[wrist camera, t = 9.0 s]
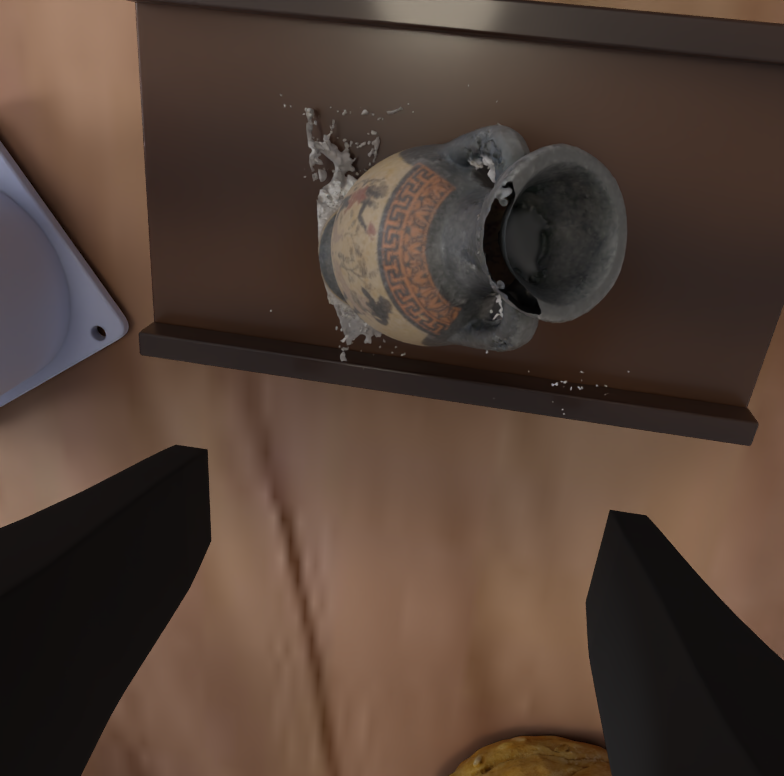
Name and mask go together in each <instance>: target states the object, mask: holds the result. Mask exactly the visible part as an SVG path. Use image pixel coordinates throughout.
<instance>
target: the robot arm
mask: <svg viewBox="0 0 784 776" xmlns="http://www.w3.org/2000/svg"><path fill="white" fill-rule="evenodd" d="M97 326H100V327H102V328H103V329H104V331H105V333H106V337H105V336H102V335H101V334H100V333H99V332H98V329H97ZM128 329H129V325H128V321H127V319H126V317H125V315H124V314H123V313H122V311H121V310H120V308H119V307H118V306H117V304H116V303H115V301H114V300H113V299H112V297H111V296H110V294H109V293H108V292H107V290H106V289H105V287H104V286H103V285H102V283H101V282H100V280H99V279H98V277H97V276H96V275H95V273H94V272H93V270H92V269H91V268H90V266H89V265H88V263H87V262H86V261H85V259H84V258H83V256H82V255H81V254H80V252H79V251H78V249H77V248H76V247H75V245H74V244H73V242H72V241H71V239H70V238H69V237H68V235H67V234H66V232H65V231H64V230H63V228H62V227H61V225H60V224H59V223H58V221H57V220H56V218H55V217H54V216H53V214H52V213H51V211H50V210H49V209H48V207H47V206H46V204H45V203H44V201H43V200H42V199H41V197H40V196H39V194H38V193H37V192H36V190H35V189H34V187H33V186H32V185H31V183H30V182H29V180H28V179H27V178H26V176H25V175H24V173H23V172H22V171H21V169H20V168H19V166H18V165H17V163H16V162H15V161H14V159H13V158H12V156H11V155H10V154H9V152H8V151H7V149H6V148H5V147H4V145H3V144H2V142H1V141H0V407H2V406H3V405H5V404H7V403H9V402H10V401H12V400H14V399H16V398H17V397H19V396H21V395H23V394H24V393H26V392H28V391H30V390H31V389H33V388H35V387H37V386H38V385H40V384H42V383H44V382H45V381H47V380H49V379H51V378H52V377H54V376H56V375H58V374H59V373H61V372H63V371H64V370H66V369H68V368H70V367H71V366H73V365H75V364H77V363H78V362H80V361H82V360H84V359H85V358H87V357H89V356H91V355H92V354H94V353H96V352H98V351H99V350H101V349H103V348H105V347H106V346H108V345H110V344H112V343H113V342H115V341H117V340H119V339H120V338H122V337H123V336H124V335H125V334H126V333H127V332H128ZM210 542H211V522H210V497H209V473H208V450H207V449H201V448H194V447H187V446H181V445H174V446H172V447H169V448H167V449H165V450H163V451H160V452H158V453H156V454H154V455H152V456H150V457H148V458H146V459H144V460H143V461H141V462H139V463H137V464H135V465H133V466H131V467H129V468H127V469H125V470H123V471H121V472H119V473H117V474H115V475H114V476H112V477H110V478H108V479H106V480H104V481H102V482H100V483H98V484H96V485H94V486H92V487H90V488H88V489H86V490H84V491H82V492H80V493H78V494H76V495H74V496H71V497H69V498H67V499H65V500H63V501H61V502H59V503H56V504H54V505H52V506H50V507H48V508H46V509H43V510H41V511H39V512H37V513H35V514H33V515H30V516H28V517H26V518H24V519H21V520H19V521H16V522H14V523H12V524H9V525H7V526H4V527H2V528H0V776H81V774H82V772H83V770H84V768H85V766H86V764H87V762H88V760H89V758H90V756H91V754H92V752H93V750H94V748H95V746H96V744H97V742H98V740H99V738H100V736H101V734H102V732H103V730H104V728H105V726H106V724H107V722H108V720H109V718H110V716H111V714H112V713H113V711H114V709H115V707H116V706H117V704H118V702H119V700H120V699H121V697H122V695H123V694H124V692H125V690H126V689H127V687H128V685H129V684H130V682H131V681H132V679H133V677H134V676H135V674H136V673H137V671H138V670H139V668H140V666H141V665H142V663H143V662H144V660H145V659H146V657H147V655H148V654H149V652H150V651H151V649H152V648H153V646H154V644H155V643H156V641H157V640H158V638H159V637H160V635H161V633H162V632H163V630H164V629H165V627H166V626H167V624H168V622H169V621H170V619H171V618H172V616H173V614H174V613H175V611H176V610H177V608H178V606H179V605H180V603H181V601H182V600H183V598H184V597H185V595H186V593H187V592H188V590H189V588H190V587H191V584H192V582H193V580H194V578H195V576H196V574H197V572H198V570H199V567H200V565H201V563H202V561H203V558H204V556H205V554H206V551H207V549H208V547H209V545H210ZM586 617H587V636H588V650H589V659H590V665H591V670H592V676H593V681H594V686H595V692H596V697H597V702H598V708H599V713H600V718H601V723H602V728H603V733H604V738H605V744H606V749H607V754H608V759H609V764H610V769H611V775H612V776H784V661H783V660H782V659H781V658H780V657H779V656H778V655H777V654H776V653H775V652H774V651H772V650H771V649H770V648H769V647H768V646H767V645H766V644H765V643H764V642H763V641H762V640H761V639H760V638H759V637H758V636H757V635H756V634H755V633H754V632H753V631H752V630H751V629H750V628H749V627H748V626H747V625H746V624H744V623H743V622H742V621H741V620H740V619H739V618H738V617H737V616H736V615H735V614H734V613H733V612H732V610H731V609H730V608H729V607H728V606H727V605H726V604H725V603H724V602H723V601H722V600H721V599H720V598H719V597H718V596H717V595H716V594H715V593H714V591H713V590H712V589H711V588H710V587H709V586H708V585H707V584H706V583H705V582H704V581H703V579H702V578H701V577H700V576H699V575H698V574H697V573H696V572H695V570H694V569H693V568H692V567H691V566H690V565H689V564H688V562H687V561H686V560H685V559H684V558H683V557H682V556H681V554H680V553H679V552H678V551H677V550H676V549H675V547H674V546H673V545H672V544H671V543H670V542H669V540H668V539H667V538H666V537H665V536H664V535H663V533H662V532H661V531H660V530H659V529H658V528H657V527H656V525H655V524H654V523H653V522H652V521H651V520H650V519H649V518H648V517H647V516H646V515H640V514H634V513H627V512H620V511H614V510H610V511H609V515H608V519H607V523H606V527H605V530H604V534H603V538H602V542H601V546H600V549H599V553H598V557H597V561H596V565H595V569H594V572H593V576H592V580H591V584H590V588H589V591H588V595H587V599H586Z"/></svg>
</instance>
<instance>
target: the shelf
mask: <svg viewBox="0 0 784 776" xmlns="http://www.w3.org/2000/svg"><path fill="white" fill-rule="evenodd" d="M127 1H133V2H135V8H136V25H137V42H138V58H139V75H140V91H141V108H142V125H143V141H144V158H145V175H146V191H147V208H148V225H149V241H150V258H151V275H152V291H153V308H154V323H152V324H150V325H149V326H147V327H146V328H145V329H143V330H142V331H140V332H139V346H140V354H141V355H144V356H151V357H158V358H164V359H171V360H178V361H184V362H191V363H198V364H204V365H211V366H218V367H225V368H231V369H238V370H245V371H251V372H258V373H265V374H271V375H278V376H285V377H291V378H298V379H305V380H311V381H318V382H325V383H332V384H338V385H345V386H352V387H358V388H365V389H372V390H378V391H385V392H392V393H398V394H405V395H412V396H419V397H425V398H432V399H439V400H445V401H452V402H459V403H465V404H472V405H479V406H485V407H492V408H499V409H506V410H512V411H519V412H526V413H532V414H539V415H546V416H552V417H559V418H566V419H572V420H579V421H586V422H593V423H599V424H606V425H613V426H619V427H626V428H633V429H639V430H646V431H653V432H659V433H666V434H673V435H680V436H686V437H693V438H700V439H706V440H713V441H720V442H726V443H733V444H740V445H746V446H750V445H751V444H752V441H753V438H754V436H755V433H756V430H757V428H758V421H757V420H756V419H755V417H754V416H753V415H752V413H751V412H750V410H749V409H748V408H747V406H748V403H749V400H750V398H751V395H752V392H753V389H754V386H755V384H756V381H757V378H758V375H759V372H760V370H761V367H762V364H763V361H764V358H765V355H766V353H767V350H768V347H769V344H770V341H771V339H772V336H773V333H774V330H775V327H776V324H777V322H778V319H779V316H780V313H781V310H782V308H783V305H784V24H779V23H768V22H757V21H747V20H736V19H725V18H714V17H703V16H693V15H682V14H671V13H660V12H649V11H638V10H628V9H617V8H606V7H595V6H584V5H574V4H563V3H552V2H541V1H530V0H127ZM468 85H469V86H468ZM280 94H281V95H282V96H280ZM408 103H409V104H408ZM284 104H285V105H286V107H284ZM290 105H291V106H292V107H290ZM330 107H331V108H330ZM360 107H361V108H360ZM400 107H402V108H403V109H402V110H400V111H398V112H395V113H394V114H388V113H387V111H394V110H396V109H399V108H400ZM305 108H307V109H308V108H312V109H313V110H314V116H313V117H314V118H313V117H312V118H311V119H312V122H313V123H314V121H317V125H315V124H313V130H312V132H311V134H312V140H313V141H314V142H315V141H318V142H322V143H323V142H324V140H323V137H324V135H328V134H329V133H330V131H333V133H332V134H331V135H330V138H329V141H330V142H331V143H332V144H334V145H336V146H337V147H338V150H339V151H340V152H343V151H344V150H345V148H346V147H345V145H344V144H345V142H347V143H348V144H349V148H348V149H349V150H350V151H349V153H350V158H352V159H354V158H356V159H355V161H354V162H353V163H352V166H353V167H354V168H355V171H353V172H352V171H347V172H346V173H345V177H348V175H351V176H353V177H354V178H355V179H357V180H358V179H359V178H360V177H361V176H362V175H363V174H364V173H365V172H366V171H365V170H364V169H366V170H367V171H368V170H369V169H370V168H372V167H373V166H374V165H376V164H377V163H379V162H380V161H382V160H384V159H386V158H387V157H389V156H391V155H393V154H396V153H398V152H401V151H403V150H406V149H410V148H413V147H418V146H423V145H433V144H445V143H447V142H450V141H451V140H453V139H455V138H458V137H459V136H461V135H464V134H466V133H469V132H471V131H474V130H476V129H479V128H482V127H487V126H493V125H497V123H499V124H500V125H503V126H507V127H510V128H512V129H513V130H515V131H516V132H518V133H519V134H520V135H521V136H522V137H523V138H524V140H525V141H526V144H527V146H528V148H529V151H530V153H531V152H533V151H535V150H537V149H539V148H542V147H545V146H549V145H553V144H562V143H563V144H568V145H571V146H574V147H578V148H580V149H581V150H584V151H586V152H587V153H589V154H591V155H592V156H594V157H595V158H596V159H598V160H599V161H600V162H601V163H602V164H604V165H605V167H606V168H607V169H608V170H609V171H610V172H611V174H612V176H613V177H614V178H615V179H616V181H617V184H618V186H619V189H620V191H621V193H622V196H623V200H624V204H625V209H626V216H627V244H626V250H625V257H624V261H623V264H622V267H621V271H620V273H619V276H618V278H617V280H616V282H615V284H614V286H613V287H612V288H611V289H610V291H609V292H608V294H607V295H606V296H605V297H604V298H603V299H602V300H601V301H600V302H599V303H598V304H597V305H596V306H595V307H594V308H592V309H591V310H590V311H588V312H587V313H585V314H583V315H582V316H580V317H578V318H576V319H574V320H572V321H566V322H563V323H551V322H545V321H542V320H539V321H538V326H537V329H536V331H535V333H534V335H533V337H532V338H531V340H530V341H529V342H528V343H526V344H524V345H523V346H521V347H519V348H517V349H515V350H511V351H504V352H497V351H492V350H488V353H487V354H486V350H484V349H476V348H471V347H466V346H462V345H447V346H420V345H414V344H409V343H405V342H402V341H399V340H396V339H393V338H391V337H389V336H386V335H384V334H381V337H376V336H375V335H373V336H372V337H371V340H372V341H371V344H370V343H366V344H365V343H364V341H365V339H366V336H365V335H363V334H360V335H359V336H358V337H356V338H355V340H353V339H352V342H353V343H352V342H351V345H347V343H346V340H345V342H341V341H340V340H343V339H344V338H345V335H344V332H343V330H342V331H341V330H340V329H341V328H342V326H341V323H340V319H339V317H338V316H337V311H336V309H335V307H334V305H332V304H331V303H330V304H329V300H328V297H327V296H328V294H327V291H326V288H325V284H324V281H323V278H322V275H321V269H320V262H319V255H318V247H319V241H318V217H317V200H318V195H319V193H320V189H323V187H324V186H326V185H328V184H329V183H330V182H331V180H332V178H333V176H334V173H333V172H332V171H333V170H335V165H334V163H333V162H332V161H331V160H330V159H329V158H328V157H326V156H325V155H324V154H323V153H321V155H320V156H319V157H318V159H320V160H321V161H322V162H323V165H319V164H315V165H314V166H313V168H314V171H313V172H312V170H311V167H310V164H309V156H310V154H311V152H312V149H311V148H309V146H308V138H307V131H306V124H307V123H308V118H307V116H306V111H305ZM344 110H346V112H347V113H345V114H344V115H342V113H343V112H344ZM363 110H367V111H368V114H365V115H362V114H361V113H362V112H363ZM337 111H339V112H337ZM350 112H351V113H350ZM304 113H305V114H304ZM372 113H373V114H374V116H373V115H372ZM303 114H304V115H303ZM378 118H381V119H379V120H377V119H378ZM382 118H383V120H382ZM333 120H335V123H334V124H332V121H333ZM332 125H334V128H332V130H331V129H330V126H331V127H332ZM372 130H373V131H375V132H377V134H376V135H372V134H371V131H372ZM367 133H369V134H367ZM378 136H379V140H380V144H379V148H378V150H377V154H378V155H377V156H376V158H375V156H374V154H372V155H371V156H370V157H369V156H368V153H370V151H371V150H372V148H373V149H375V147H374V145H372V141H374V140H375V139H376V138H377V137H378ZM313 137H314V138H313ZM337 137H338V138H337ZM317 138H318V140H317ZM343 139H346V141H345V142H343ZM350 141H352V142H353V143H352V145H351V147H350ZM368 141H370V145H368ZM356 142H357V143H358V144H355V143H356ZM363 142H366V144H365V145H363V146H362V147H359V145H361V143H363ZM319 144H320V143H319ZM357 146H358V148H357ZM374 151H375V150H374ZM374 158H375V162H374V163H373V159H374ZM369 163H371V165H370V166H369ZM323 168H324V169H325V171H326V173H327V178H326V179H325V181H323V182H321V181H320V179H319V173H318V169H321V170H324V169H323ZM360 170H361V171H360ZM356 172H358V173H359V175H356ZM314 173H317V175H318V179H316V180H314V181H313V178H312V174H314ZM304 176H306V178H304ZM314 177H315V176H314ZM270 310H272V312H270ZM336 326H337V327H338V329H337V330H336V328H335V327H336ZM383 339H384V340H385V342H383ZM339 345H340V348H339ZM379 346H381V348H379ZM395 346H397V348H395ZM343 347H344V348H348V347H349V348H348V350H344V351H342V350H341V348H343ZM361 350H362V352H361ZM342 352H345V358H346V359H347V361H341V359H340V355H341V353H342ZM391 352H393V353H391ZM404 353H405V355H403V356H401V354H404ZM373 354H374V355H373ZM528 370H529V372H528ZM580 371H582V372H584V373H581V372H580ZM628 371H629V373H628ZM581 380H582V381H581ZM561 381H563V382H564V381H567V383H563V382H562V383H561ZM556 382H557V383H558V386H556V385H554V386H552V384H555V383H556ZM596 384H597V385H598V387H597V386H596ZM605 385H607V387H605ZM578 386H579V387H580V388H581V387H582V388H583V389H582V388H581V389H579V388H578ZM571 387H572V390H570V389H571ZM607 393H608V394H607ZM605 394H606V395H605ZM493 398H494V399H493ZM562 409H563V410H562ZM563 413H565V414H564V415H563Z"/></svg>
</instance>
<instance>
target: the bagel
mask: <svg viewBox="0 0 784 776" xmlns="http://www.w3.org/2000/svg"><path fill="white" fill-rule="evenodd" d="M449 776H612V775H611V769H610V764H609V759H608V754H607V750H605V749H603V748H601V747H599V746H596V745H592V744H588V743H584V742H576V741H571V740H569V739H566V738H562V737H557V736H518V737H514V738H511V739H505V740H501V741H498V742H495V743H493V744H490V745H487V746H485V747H483V748H481V749H479V750H477V751H476V752H475V753H474V754H473V755H472V756H471V757H469V758H468V759H466V760H464V761H463V762H462V763H460V765H459V766H458V767H457V769H456V770H455V772H454V773H452V774H450V775H449Z"/></svg>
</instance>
